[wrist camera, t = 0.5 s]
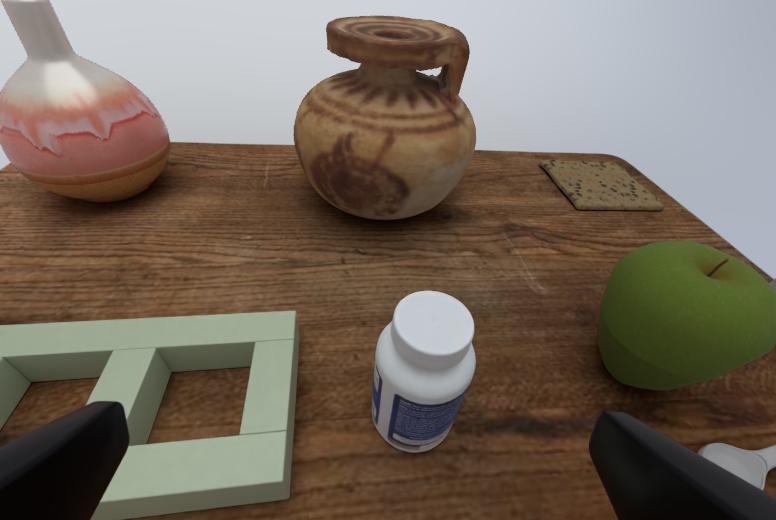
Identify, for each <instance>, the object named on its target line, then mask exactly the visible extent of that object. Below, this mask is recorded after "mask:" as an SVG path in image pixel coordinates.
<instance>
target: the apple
mask: <svg viewBox="0 0 776 520" xmlns="http://www.w3.org/2000/svg"><path fill="white" fill-rule="evenodd" d="M597 341H598V347H599V350H600V353H601V356H602V359H603V362H604V365H605V367H606V368H607V370H608V372H609V373H610V374H611V375H612V376H613V377H614V378H615V379H616V380H618V381H619V382H620V383H622V384H625V385H628V386H632V387H638V388H643V389H649V390H673V389H677V388H680V387H684V386H688V385H692V384H696V383H700V382H704V381H708V380H711V379H715V378H717V377H719V376H721V375H723V374H726V373H728V372H730V371H732V370H734V369H736V368H739V367H741V366H743V365H745V364H747V363H749V362H751V361H754V360H756V359H758V358H759V357H761V356H763V355H765V354H767V353H769V352H770V351H772V350H773V349H774V347H775V345H776V293H775V291H774V290H773V288H772V287H771V286H770V285H769V284H768V282H767V281H766V280H765V279H764V278H763V277H762V276H761V275H760V274H759V273H757V272H756V271H755V270H754V269H752V268H751V267H750V266H749V265H747V264H745V263H744V262H742V261H740V260H738V259H736V258H734V257H732V256H730V255H729V254H726V253H724V252H722V251H719V250H717V249H715V248H712V247H710V246H707V245H704V244H700V243H696V242H693V241H666V242H654V243H651V244H648V245H644V246H641V247H639V248H638V249H636V250H635V251H633V252H632V253H630V254H629V255H627V256H625V257H624V258H622V259H621V260H619V262H618V263H617V265H616V266H615V268H614V269H613V271H612V273H611V276H610V278H609V281H608V284H607V287H606V290H605V293H604V296H603V299H602V301H601V307H600V315H599V323H598V331H597Z"/></svg>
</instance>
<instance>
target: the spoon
mask: <svg viewBox="0 0 776 520" xmlns="http://www.w3.org/2000/svg"><path fill="white" fill-rule="evenodd" d="M697 454H699V455H701V456H703V457H704V458H706V459H708V460H710V461H712V462H713V463H715V464H717V465H719V466H720V467H722V468H724V469H726V470H727V471H729V472H731V473H733V474H735V475H736V476H738V477H740V478H742V479H743V480H745V481H747V482H749V483H750V484H752V485H754V486H756V487H758V488H759V489H761V490H763V489H764V486H765V478H766V474H767V472H768V471H769V470H770V469H772V468H775V467H776V445H774V446H771V447H768V448H765V449H761V450H756V451H750V450H743V449H739V448H736V447H733V446H731V445H727V444H723V443H713V444H708V445H706V446H704V447H702V448H701V449H700V450H699V451H698V453H697Z"/></svg>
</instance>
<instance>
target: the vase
mask: <svg viewBox="0 0 776 520" xmlns="http://www.w3.org/2000/svg"><path fill="white" fill-rule="evenodd" d="M1 2H2V4H3V6H4V8H5V10H6V12H7V14H8V16H9V18H10V20H11V22H12V24H13V26H14V28H15V30H16V32H17V34H18V36H19V38H20V40H21V42H22V44H23V46H24V48H25V50H26V52H27V55H28V58H27V60H26V61H25V62H24V63H23V64H22V65H21V66H20V67H19V68H18V69H17V71H16V72H15V73H14V74H13V75H12V76H11V77H10V78H9V80H8V81H7V82H6V84H5V85H4V87H3V88H2V90H1V92H0V144H1V146H2V149H3V151H4V152H5V154H6V156H7V157H8V159H9V161H10V162H11V163H12V164H13V166H14V167H15V168H16V169H17V170H18V171H19V172H20V173H21V174H23V175H24V176H25V177H26V178H27V179H29V180H30V181H32V182H33V183H35V184H37V185H38V186H41V187H43V188H45V189H47V190H49V191H51V192H54V193H56V194H60V195H63V196H67V197H72V198H78V199H81V200H85V201H89V202H97V203H106V202H115V201H120V200H124V199H128V198H131V197H133V196H136V195H138V194H140V193H141V192H143V191H144V190H146V189H147V188H148V187H149V186H150V185H151V184H152V182H153V180H155V179H156V178H157V177H158V176H159V175H160V173H161V172H162V170H163V169H164V167H165V165H166V163H167V160H168V157H169V153H170V140H169V134H168V131H167V128H166V125H165V123H164V121H163V119H162V117H161V115H160V114H159V112H158V111H157V109H156V108H155V106H154V105H153V104H152V102H151V101H150V100H149V99H148V97H146V96H145V95H144V94H143V93H142V92H141V91H140V90H139V89H138V88H137V87H135V86H134V85H133V84H131V83H130V82H129V81H127V80H126V79H124V78H123V77H121V76H119V75H118V74H115V73H114V72H112V71H110V70H108V69H106V68H104V67H102V66H100V65H98V64H96V63H93V62H91V61H89V60H87V59H85V58H82V57H80V56H78V55H77V54H76V53H75V52H74V51H73V49H72V47H71V45H70V43H69V41H68V39H67V37H66V34H65V32H64V30H63V28H62V26H61V24H60V22H59V20H58V18H57V16H56V14H55V11H54V9H53V7H52V5H51V3H50V1H49V0H1Z"/></svg>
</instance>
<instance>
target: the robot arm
mask: <svg viewBox="0 0 776 520" xmlns="http://www.w3.org/2000/svg"><path fill="white" fill-rule="evenodd" d="M129 442H130V435H129V430H128V425H127V420H126V415H125V410H124V406H123V405H122V404H121V403H120V402H118V401H95V402H92V403H90V404H88V405H86V406H83V407H81V408H79V409H77V410H75V411H73V412H71V413H69V414H67V415H65V416H63V417H61V418H59V419H57V420H55V421H53V422H51V423H49V424H46V425H44V426H42V427H40V428H38V429H36V430H34V431H32V432H30V433H28V434H26V435H24V436H22V437H20V438H18V439H16V440H14V441H11V442H9V443H7V444H5V445H3V446H1V447H0V520H91V518H92V516H93V514H94V512H95V510H96V508H97V507H98V505H99V503H100V501H101V499H102V497H103V495H104V493H105V492H106V490H107V488H108V486H109V484H110V482H111V480H112V478H113V477H114V475H115V473H116V471H117V469H118V467H119V465H120V463H121V461H122V460H123V458H124V456H125V454H126V452H127V449H128V447H129ZM589 452H590V456H591V459H592V461H593V463H594V465H595V468H596V470H597V472H598V474H599V477H600V479H601V481H602V483H603V486H604V488H605V490H606V492H607V495H608V497H609V499H610V502H611V504H612V506H613V508H614V511H615V513H616V515H617V517H618V520H776V498H775V497H773V496H772V495H770V494H768V493H766V492H765V491H763V490H761V489H759V488H758V487H756V486H754V485H752V484H750V483H749V482H747V481H745V480H743V479H742V478H740V477H738V476H736V475H735V474H733V473H731V472H729V471H727V470H726V469H724V468H722V467H720V466H719V465H717V464H715V463H713V462H712V461H710V460H708V459H706V458H704V457H703V456H701V455H699V454H697V453H696V452H694V451H692V450H690V449H689V448H687V447H685V446H683V445H681V444H680V443H678V442H676V441H674V440H673V439H671V438H669V437H667V436H666V435H664V434H662V433H660V432H658V431H657V430H655V429H653V428H651V427H650V426H648V425H646V424H644V423H643V422H641V421H639V420H637V419H635V418H634V417H632V416H630V415H628V414H627V413H625V412H622V411H601V412H600V413H599V414H598V415H597V417H596V421H595V424H594V428H593V431H592V435H591V438H590V441H589Z"/></svg>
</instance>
